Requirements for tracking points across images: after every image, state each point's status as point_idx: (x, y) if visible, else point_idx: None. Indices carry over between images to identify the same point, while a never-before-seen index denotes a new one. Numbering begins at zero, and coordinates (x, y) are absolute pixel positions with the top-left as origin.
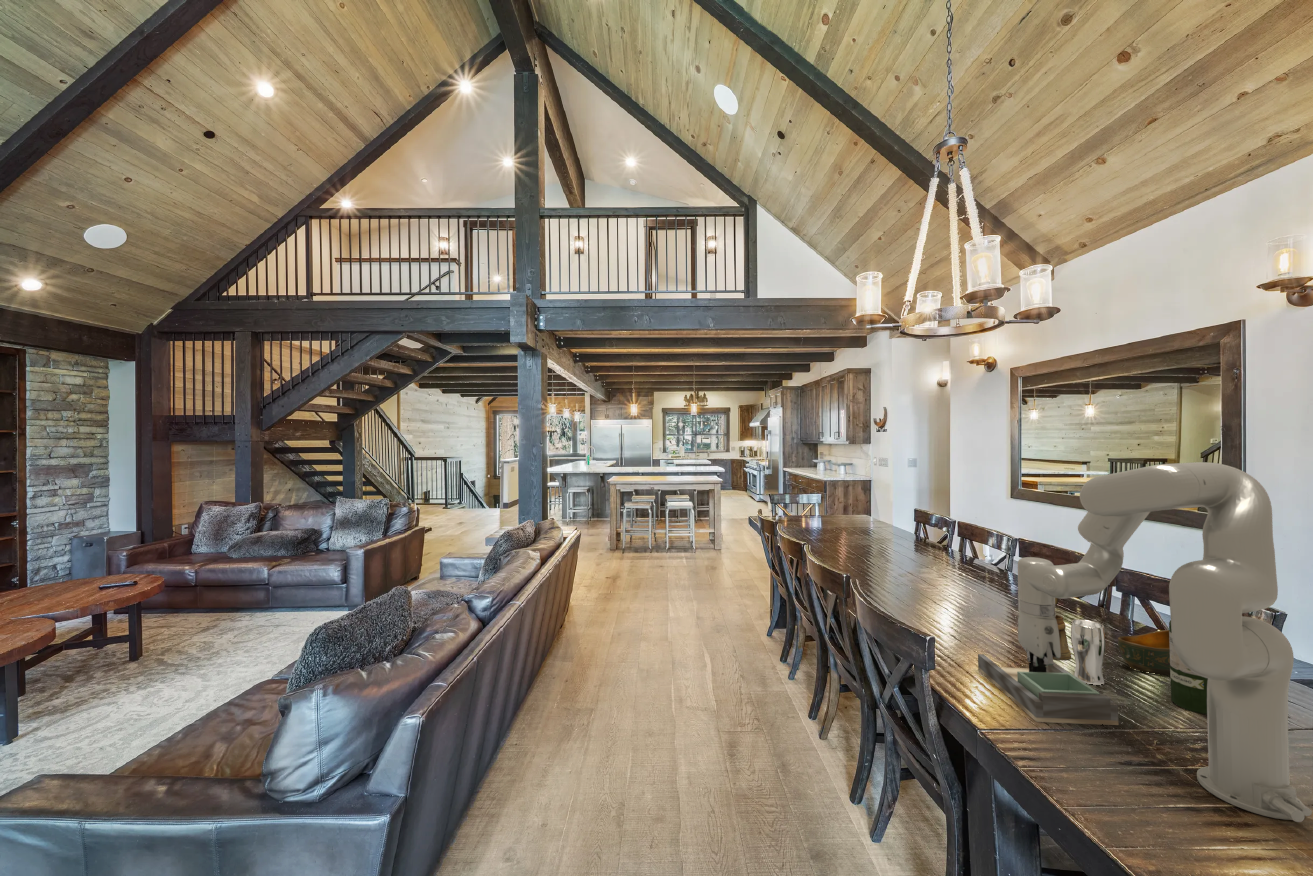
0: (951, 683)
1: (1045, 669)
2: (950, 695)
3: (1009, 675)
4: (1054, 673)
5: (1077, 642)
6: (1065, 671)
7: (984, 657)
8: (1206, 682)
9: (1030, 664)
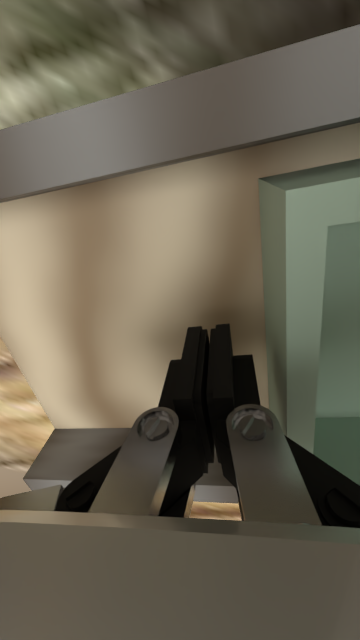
0: (201, 512)
1: (230, 379)
2: None
3: None
4: (307, 347)
5: None
6: (72, 136)
7: None
8: None
9: (206, 464)
